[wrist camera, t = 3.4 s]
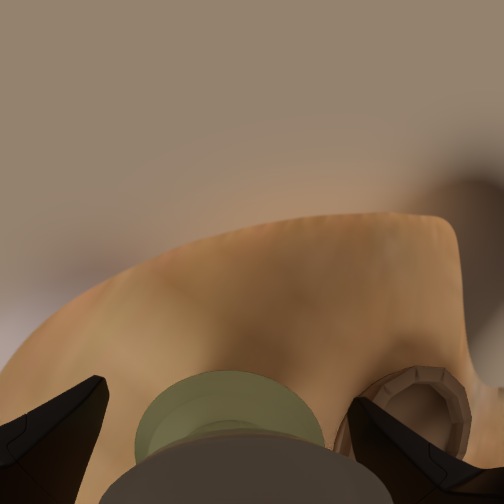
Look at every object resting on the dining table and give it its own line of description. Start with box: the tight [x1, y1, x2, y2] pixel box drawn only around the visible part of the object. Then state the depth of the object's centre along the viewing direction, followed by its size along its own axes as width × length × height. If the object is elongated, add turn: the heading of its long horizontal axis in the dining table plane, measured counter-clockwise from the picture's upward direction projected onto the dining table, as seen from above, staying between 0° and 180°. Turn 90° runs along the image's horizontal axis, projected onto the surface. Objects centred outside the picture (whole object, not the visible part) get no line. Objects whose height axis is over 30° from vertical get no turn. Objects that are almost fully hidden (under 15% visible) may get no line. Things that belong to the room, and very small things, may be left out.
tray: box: [333, 366, 472, 461], centre depth 12 cm, size 11×11×2 cm
